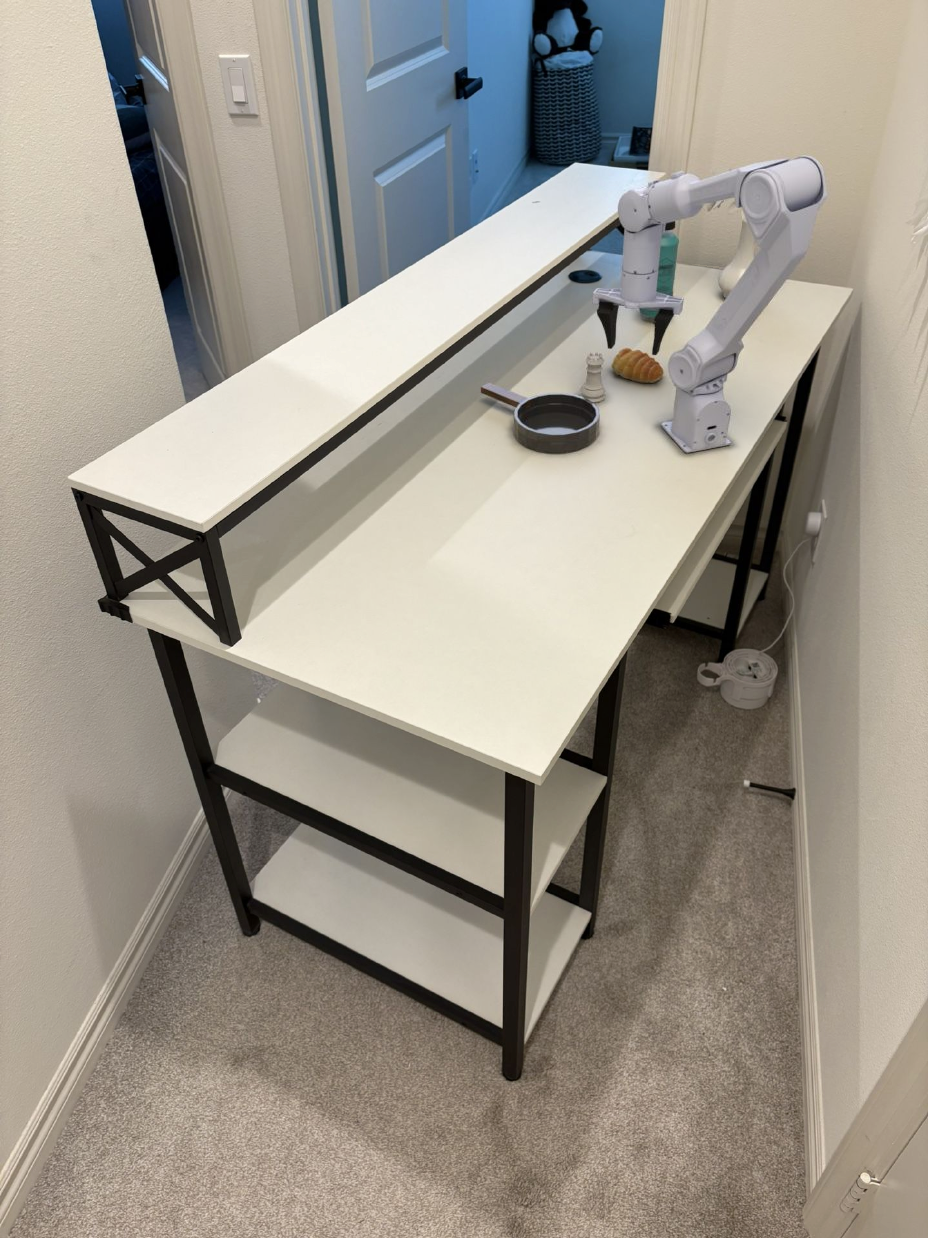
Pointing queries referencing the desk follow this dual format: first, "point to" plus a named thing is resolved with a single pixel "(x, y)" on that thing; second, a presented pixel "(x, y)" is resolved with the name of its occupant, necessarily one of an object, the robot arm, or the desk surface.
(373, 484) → the desk surface
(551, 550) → the desk surface
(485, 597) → the desk surface
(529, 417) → the pan
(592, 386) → the rook chess piece
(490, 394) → the pan handle
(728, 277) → the flower vase
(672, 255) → the beverage bottle
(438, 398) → the desk surface
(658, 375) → the pastry
